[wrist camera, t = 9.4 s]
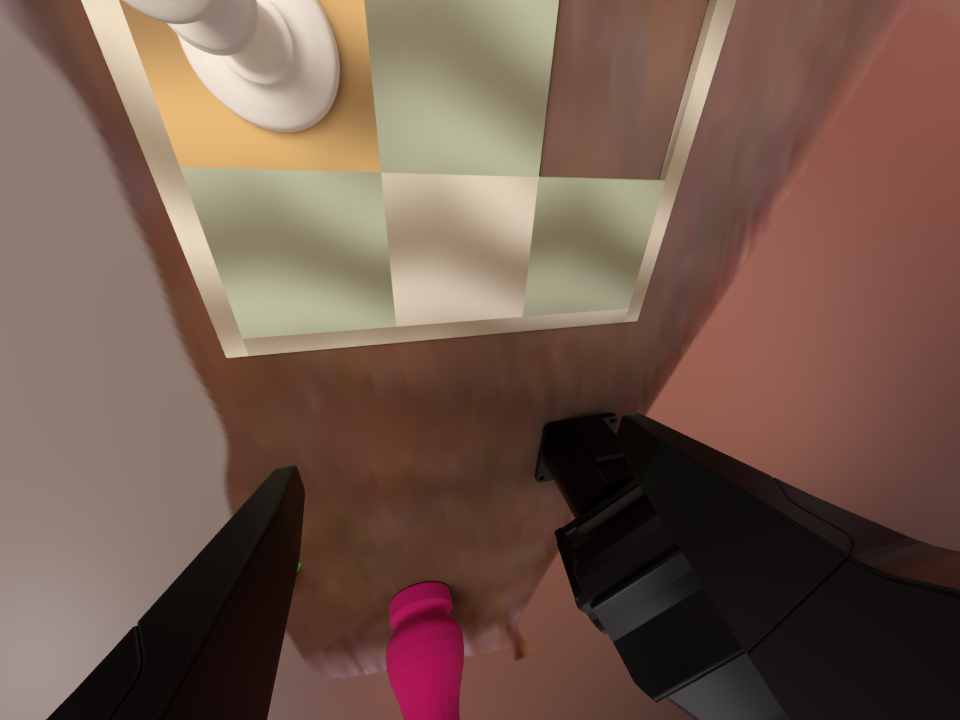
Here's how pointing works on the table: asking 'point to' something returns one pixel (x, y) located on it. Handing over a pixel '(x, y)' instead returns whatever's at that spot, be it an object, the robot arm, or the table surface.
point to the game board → (398, 182)
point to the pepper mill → (425, 653)
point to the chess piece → (258, 56)
